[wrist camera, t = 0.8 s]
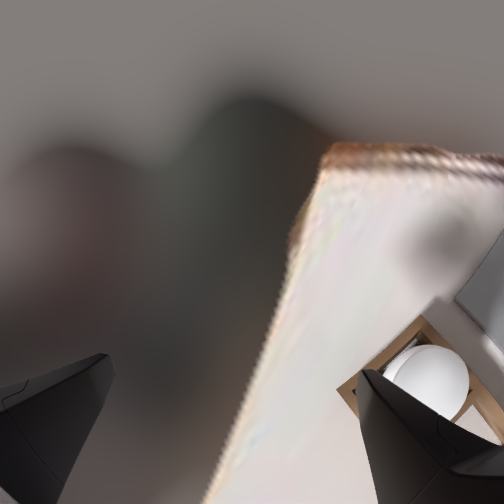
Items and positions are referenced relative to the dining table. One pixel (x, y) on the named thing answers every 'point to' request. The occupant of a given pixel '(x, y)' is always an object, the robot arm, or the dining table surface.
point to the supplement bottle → (432, 377)
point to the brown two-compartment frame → (427, 335)
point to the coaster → (487, 294)
